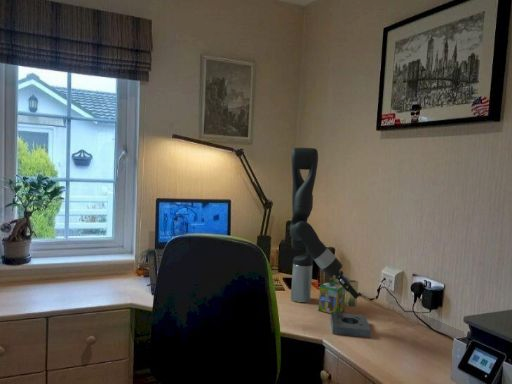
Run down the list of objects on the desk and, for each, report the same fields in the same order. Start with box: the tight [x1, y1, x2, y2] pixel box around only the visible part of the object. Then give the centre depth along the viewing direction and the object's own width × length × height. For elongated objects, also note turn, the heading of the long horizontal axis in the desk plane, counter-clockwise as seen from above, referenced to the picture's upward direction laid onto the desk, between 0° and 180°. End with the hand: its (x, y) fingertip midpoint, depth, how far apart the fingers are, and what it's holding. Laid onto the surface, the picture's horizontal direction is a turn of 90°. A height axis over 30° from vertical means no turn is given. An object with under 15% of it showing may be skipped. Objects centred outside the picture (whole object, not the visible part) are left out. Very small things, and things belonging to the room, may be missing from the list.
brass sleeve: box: [344, 279, 359, 308], centre depth 163 cm, size 4×4×10 cm
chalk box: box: [318, 276, 346, 314], centre depth 183 cm, size 9×9×15 cm
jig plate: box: [330, 312, 372, 339], centre depth 164 cm, size 16×14×3 cm
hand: (356, 295), depth 163 cm, fingers closed on brass sleeve, 4 cm apart
